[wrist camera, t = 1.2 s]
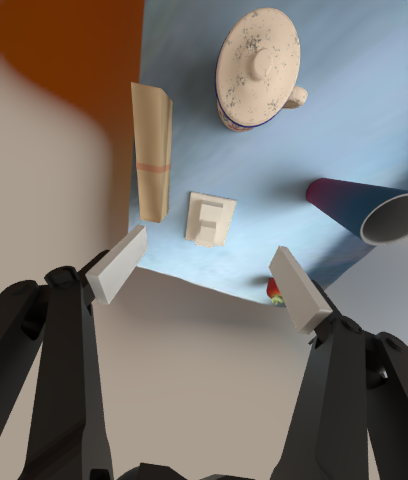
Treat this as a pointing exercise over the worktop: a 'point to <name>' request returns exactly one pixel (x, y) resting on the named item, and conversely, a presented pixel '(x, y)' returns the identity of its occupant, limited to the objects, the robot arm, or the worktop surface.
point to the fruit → (274, 291)
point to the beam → (152, 149)
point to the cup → (363, 209)
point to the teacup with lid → (258, 70)
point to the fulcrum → (209, 219)
